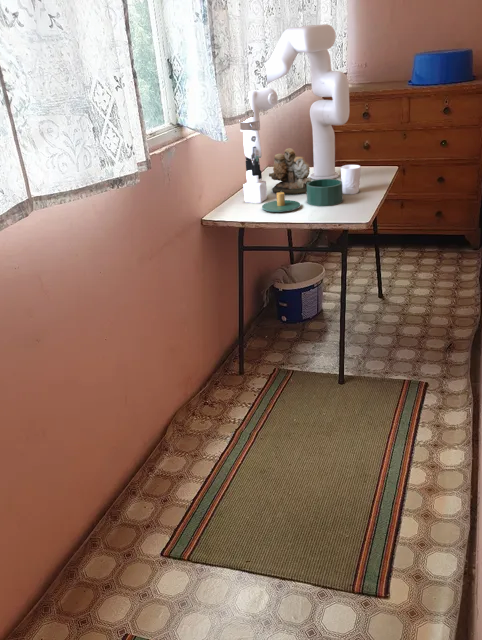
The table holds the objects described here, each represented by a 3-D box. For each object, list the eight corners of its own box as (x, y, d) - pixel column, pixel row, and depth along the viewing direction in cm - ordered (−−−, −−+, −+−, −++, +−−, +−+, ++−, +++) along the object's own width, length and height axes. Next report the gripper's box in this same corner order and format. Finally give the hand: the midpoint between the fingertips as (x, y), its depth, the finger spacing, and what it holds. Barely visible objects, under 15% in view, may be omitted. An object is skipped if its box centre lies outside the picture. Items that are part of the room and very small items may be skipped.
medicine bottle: (251, 198, 248) (248, 167, 242) (267, 198, 245) (265, 167, 239) (244, 202, 242) (241, 171, 236) (260, 203, 240) (258, 172, 233)
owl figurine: (266, 195, 250) (263, 151, 241) (273, 188, 260) (270, 146, 251) (309, 194, 246) (308, 150, 237) (314, 187, 256) (313, 145, 247)
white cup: (359, 194, 241) (359, 168, 236) (339, 194, 243) (339, 169, 238) (361, 189, 248) (361, 164, 243) (341, 190, 250) (341, 164, 244)
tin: (302, 199, 240) (301, 181, 237) (335, 195, 243) (334, 177, 239) (313, 207, 229) (313, 189, 225) (347, 203, 232) (347, 184, 228)
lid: (258, 206, 236) (256, 191, 233) (293, 201, 239) (293, 186, 236) (267, 215, 224) (266, 200, 221) (305, 210, 227) (304, 194, 224)
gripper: (265, 128, 223) (268, 176, 231) (254, 122, 237) (257, 168, 246) (245, 130, 221) (249, 178, 230) (235, 124, 236) (239, 170, 244)
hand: (253, 173), depth 238 cm, fingers open, 9 cm apart
